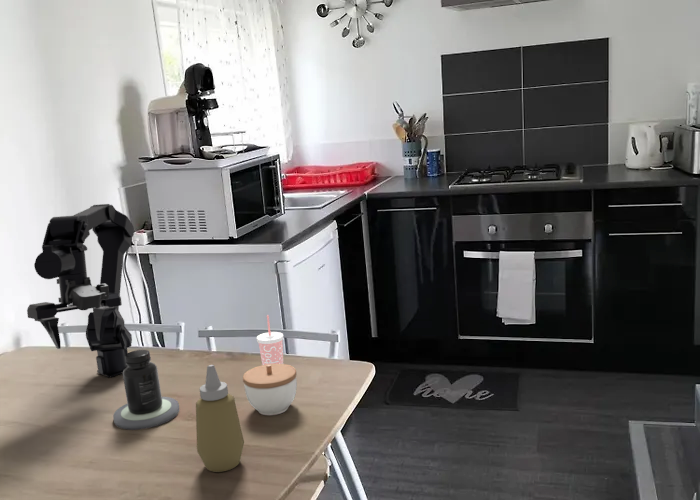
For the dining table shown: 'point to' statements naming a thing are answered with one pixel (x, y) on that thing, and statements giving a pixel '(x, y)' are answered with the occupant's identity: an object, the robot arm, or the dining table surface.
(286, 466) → the dining table surface
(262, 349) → the beverage cup
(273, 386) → the lidded jar
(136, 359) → the supplement bottle
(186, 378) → the dining table surface
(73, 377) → the dining table surface
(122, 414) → the plate
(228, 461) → the squeeze bottle
